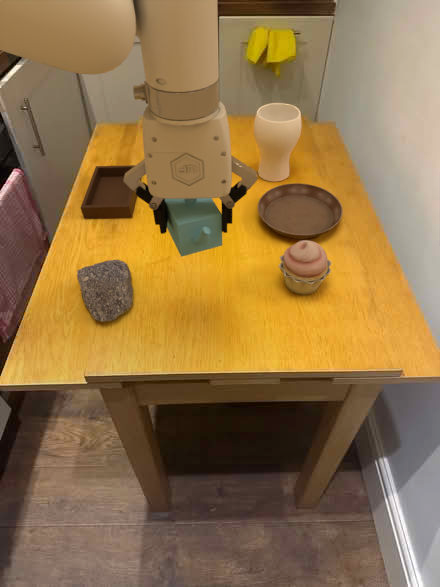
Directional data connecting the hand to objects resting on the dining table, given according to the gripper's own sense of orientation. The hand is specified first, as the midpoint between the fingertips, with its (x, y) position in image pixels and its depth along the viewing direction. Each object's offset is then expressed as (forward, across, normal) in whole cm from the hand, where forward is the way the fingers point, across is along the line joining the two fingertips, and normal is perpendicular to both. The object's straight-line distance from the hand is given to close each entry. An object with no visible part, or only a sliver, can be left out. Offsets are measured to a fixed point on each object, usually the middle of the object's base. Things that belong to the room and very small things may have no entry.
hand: (194, 226), depth 56 cm
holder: (+20, -22, +36) cm, 46 cm away
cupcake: (+20, +18, +7) cm, 28 cm away
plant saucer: (+20, +20, +26) cm, 39 cm away
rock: (+20, -16, +4) cm, 26 cm away
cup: (+20, +16, +44) cm, 51 cm away
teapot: (+4, 0, 0) cm, 4 cm away
